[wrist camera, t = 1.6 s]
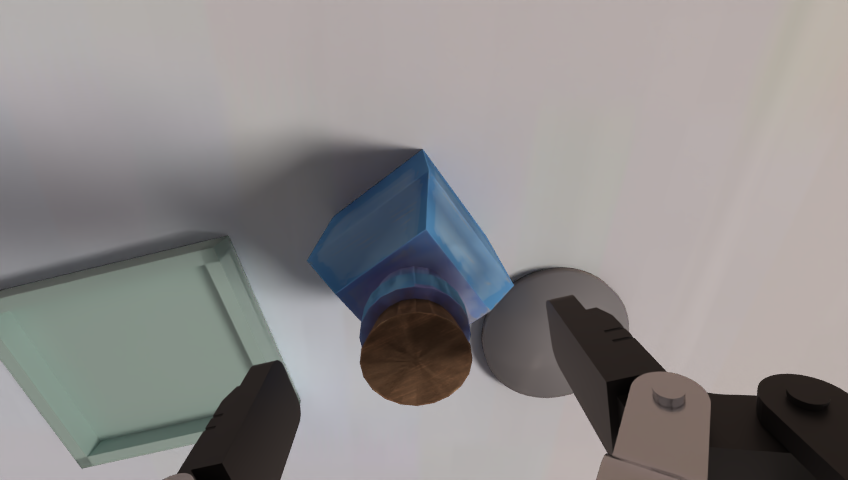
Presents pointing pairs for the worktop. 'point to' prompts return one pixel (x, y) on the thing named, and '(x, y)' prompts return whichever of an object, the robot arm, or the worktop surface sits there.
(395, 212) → the perfume bottle
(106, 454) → the tray
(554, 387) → the grey domed puck
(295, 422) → the robot arm
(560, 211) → the worktop surface
